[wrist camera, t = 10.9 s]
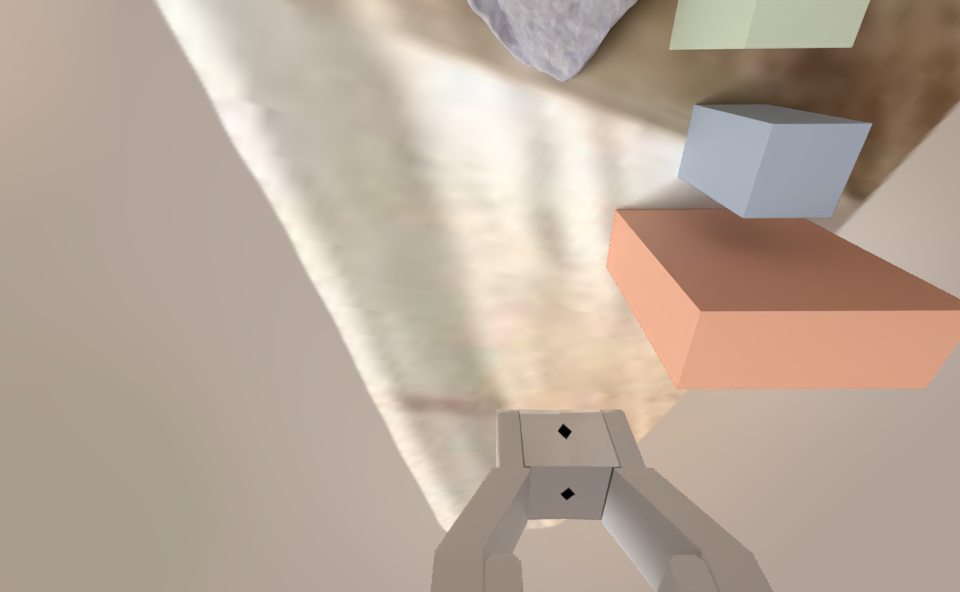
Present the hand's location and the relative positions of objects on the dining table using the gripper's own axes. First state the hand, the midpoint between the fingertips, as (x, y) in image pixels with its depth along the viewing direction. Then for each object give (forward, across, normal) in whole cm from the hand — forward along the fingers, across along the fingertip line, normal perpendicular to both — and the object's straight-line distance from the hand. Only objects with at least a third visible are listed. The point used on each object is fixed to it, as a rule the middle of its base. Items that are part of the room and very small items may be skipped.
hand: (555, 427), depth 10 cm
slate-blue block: (+31, -19, -1) cm, 36 cm away
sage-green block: (+31, -16, -11) cm, 37 cm away
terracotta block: (+31, -19, +8) cm, 37 cm away
